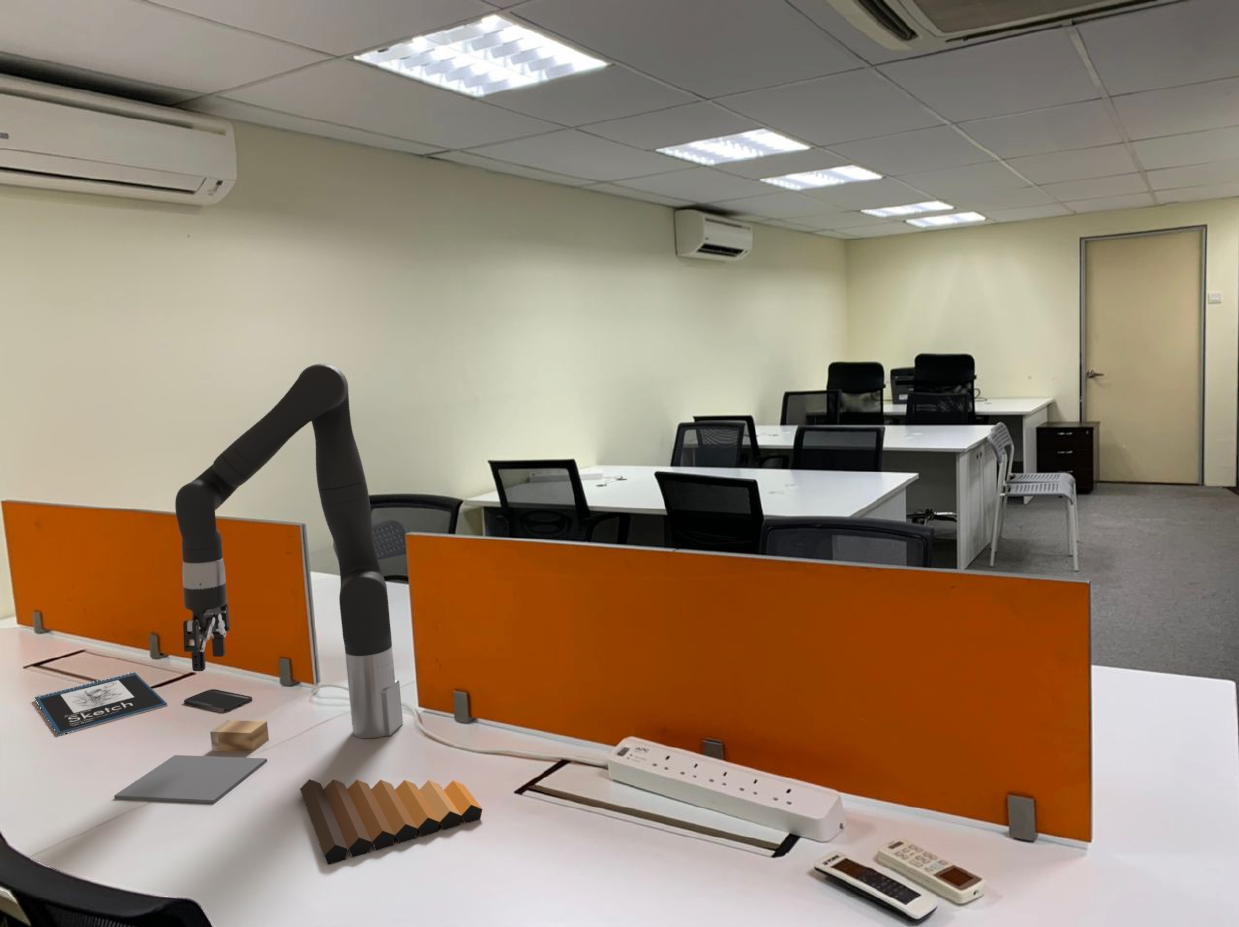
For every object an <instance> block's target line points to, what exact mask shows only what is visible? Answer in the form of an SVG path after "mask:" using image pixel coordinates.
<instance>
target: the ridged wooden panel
mask: <svg viewBox="0 0 1239 927" xmlns="http://www.w3.org/2000/svg"><path fill="white" fill-rule="evenodd" d="M299 790H300V793H301V796H302V799H303V801H304V805H305V807H306V810H307V813H308V815H309V818H310V822H311V824H312V827H313V829H314V832H315V835H316V839H317V841H318V844H319V846H320V849H321V852H322V855H323V857H324V860H325V861H326V863H327V865H328V866H330V865H332V864H336V863H339V862H343V861H346V859H347V856H348V852H349V853H350V855H351V858H357V857H359V856H363V855H366V854H370V852H371V847H372V845H373V847H374V849H375V851H379V850H382V849H386V848H389V847H392V846H393V845H394V842H395V838H396V840H397V842H398V844H403V843H405V842H409V841H411V840H415V839H416V837H417V832H418V833H419V835H420V837H422V838H423V837H425V836H429V835H433V834H435V833H438V830H439V826H441V828H442V830H443V831H446V830H449V829H452V828H456V827H459V826H460V823H461V820H462V821H463V823H464V824H465V825H466V824H469V823H471V822H475V821H479V820H481V818H482V812H483V808H482V806H481V805H480V804H479V802H478V801H477V800H476V798H475V797H474V796H473V795H472V794H471V792H470V791H469V789H468V788H467V787H466V786H465V784H463V783H461V782H458V781H456V780H454V779H453V780H452V781H451V782H449V784H448V785H447V786H446V787H445V788H442V786H441V785H440V784H439V783H437V782H435V781H432V780H427V781H426V782H425V783H424V784H423V785H422V786H421V787H420V788H418V786H417V784H416V783H413V782H411V781H409V780H407V779H404V780H403V781H402V782H401V783H400V784H399V785H398V786H397V787H396V788H394V785H393V784H392V783H390V782H388V781H385V780H383V779H379V780H378V781H377V783H375V785H373V787H372V788H371V787H370V785H369V783H367V782H364V781H362V780H359V779H356V780H354V782H353V783H351V785H349V787H348V788H347V786H346V784H345V782H341V781H339V780H337V779H334V778H333V779H332V780H331V781H330V782H329V783H328V784H327V785H326V786H325V787H323V785H322V783H321V782H319V781H316V780H313V779H311V778H309V779H308V780H307V781H306V782H305V783H304V784H303V785H302V786H301V787H300V788H299Z"/></svg>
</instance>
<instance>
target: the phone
mask: <svg viewBox="0 0 1239 927" xmlns="http://www.w3.org/2000/svg"><path fill="white" fill-rule="evenodd" d="M252 702H253V697H252V696H249V695H245V694H239V693H234V692H230V691H224V690H221V689H215V688H210V689H207V690H205V691H201V692H199V693H197V694H195V695H192V696H190V697H186V698H185V699H183V704H184V705H186V706H192V707H196V708H200V709H204V710H209V711H214V712H217V713H230V712H231V711H234V710H236V709H238V708H240V707H243V706H245V705H248V704H250V703H252Z"/></svg>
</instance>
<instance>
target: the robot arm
mask: <svg viewBox="0 0 1239 927" xmlns="http://www.w3.org/2000/svg"><path fill="white" fill-rule="evenodd" d="M349 396H350V395H349V382H348V379H347V378H346V375H345V374H344V373H343V371H342V370H340V368H338V367H336V366H334V365H332V364H329V363H317V364H312V365H310V366H308V367H305V368H304V369H303V370H302V371H301V372H300V373H299V375H298V377H297V379H296V380H295V381H294V383H293V384H292V386H291V387H290V388H289V389H288V390H287V392H286V393H285V395H284V396H283V397H282V398H280V400H279V401H278V402H277V403H276V404H275V405H274V406H273V407H272V408H271V410H269V411H268V412H267V413H266V414H265V415H264V416H263V417H262V418H261V419H260V420H258V421H257V422H256V423H255V424H253V425H252V426H251V427H250V428H249V429H247V430H246V431H245V432H244V433H242V434H241V435H240V436H238V438H237V439H236V440H234V442H232V443H231V444H230V445H229V446H228V447H227V448H226V449H224V450H223V451H222V452H221V453H220V454H219V455H218V456H217V457H216V458H215V460H213V463H212V464H211V465H210V466H209V467H208V468H206V470H204V471H203V472H202V473H201V474H200V475H198V476H197V477H196V478H195V479H193V480H192V481H191V482H189V483H186V484H185V485H183V486H182V487H180V488H179V489H178V491H177V493H176V496H175V505H174V507H175V508H174V509H175V516H176V519H177V520H176V521H177V524H178V525H177V526H178V529H179V533H180V536H181V549H182V550H181V551H182V552H181V553H182V571H181V572H182V573H181V574H182V591H183V592H182V593H183V606H184V608H185V609H187V610H188V611H191V612H192V616H191V620H184V621H183V623H182V627H183V633H182V634H183V652H185V653H191V667H192V668H191V669H192V671H193V672H203V671H205V670H206V668H207V667H206V653H205V648H206V645H207V642H209V641H210V639H211V647H212V649H211V650H212V656H213V657H214V658H218V657H219V658H223V657H224V656H225V655H226V644H225V643H226V642H225V638H226V636H227V632H229V631H231V630H230V629H231V625H230V623H231V622H230V614H229V603H228V600H227V596H228V595H227V582H226V581H227V580H226V579H227V578H226V566H225V563H224V555H223V540H222V535H221V532H220V531H219V530H218V529H217V520H216V519H217V518H216V511H217V509H219V507H221V506H222V505H223V504H224V503H225V502H226V501H227V500H228V499H229V498H230V497H231V496H232V494H233V493H234V492H235V491H237V489H238V488H239V487H240V486H242V485H244V484H245V483H246V482H248V480H250V479H251V478H252V477H253V476H254V475H255V474H257V472H259V471H260V470H262V468H263V467H264V466H265V465H266V464H267V463H268V462H269V461H270V460H272V458H273V457H274V456H275V455H276V454H277V453H278V452H279V451H280V450H281V449H282V448H283V447H284V446H285V444H286V443H287V442H288V441H289V440H290V439H291V438H292V437H293V436H294V435H296V433H297V432H299V431H300V430H302V428H304V427H305V426H306V425H308V423H310V422H311V425H312V429H313V433H314V439H315V440H314V442H315V471H316V474H315V475H316V482H317V489H318V493H319V498H320V502H321V508H322V512H323V516H324V519H325V521H326V524H327V527H328V530H329V533H330V535H331V537H332V539H333V542H334V546H335V547H336V552H337V560H338V567H339V568H338V569H339V577H340V578H339V579H340V587H339V588H340V590H339V595H338V596H339V597H338V598H339V611H340V612H339V613H340V621H341V628H342V629H341V630H342V639H343V644H344V645H343V646H344V654H345V664H346V676H347V685H348V696H349V705H350V715H351V726H352V734H353V735H354V737H357V738H361V739H374V738H381V737H384V736H385V737H386V736H388V737H389V736H392V735H393V734H394V733H395V732H396V731H397V730H398V729H399V728H400V727H401V726H402V725H403V724H404V719H403V709H402V708H403V707H402V696H401V687H400V686H401V685H400V681H399V679H396V677H395V676H396V675H395V665H394V655H393V654H394V653H393V643H392V642H393V641H392V639H393V638H392V631H391V630H392V629H391V619H390V608H389V606H390V604H389V599H388V598H389V596H388V588H387V587H388V586H387V583H386V579H385V578H384V575H383V573H382V572H383V571H382V569H381V564H380V562H379V559H378V556H377V552H376V548H375V545H374V537H373V521H372V511H371V510H372V509H371V502H370V495H369V490H368V484H367V480H366V475H365V471H364V467H363V462H362V458H361V455H360V452H359V449H358V445H357V443H356V439H355V436H354V432H353V427H352V420H351V418H352V417H351V410H350V399H349ZM211 637H212V638H211Z"/></svg>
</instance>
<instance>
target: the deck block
mask: <svg viewBox="0 0 1239 927" xmlns="http://www.w3.org/2000/svg"><path fill="white" fill-rule="evenodd" d="M209 733H210V740H211V741H210V743H211V750H212V751H215V752H241V753H244V752H245V753H254V752H255V751H256V750H258V749H259V748H260V747H261V746H263V745H265V744H266V743H267V742H269V741H270V736H269V728H268V721H267V720H264V721H262V720H234V719H231V720H230V719H229V720H228V719H227V720H225V721H224V722H223V723H220V724H219V725H218V726H216V727H215V728H213V729H211V730H210V732H209Z"/></svg>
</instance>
